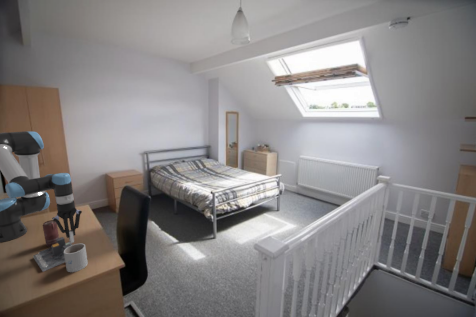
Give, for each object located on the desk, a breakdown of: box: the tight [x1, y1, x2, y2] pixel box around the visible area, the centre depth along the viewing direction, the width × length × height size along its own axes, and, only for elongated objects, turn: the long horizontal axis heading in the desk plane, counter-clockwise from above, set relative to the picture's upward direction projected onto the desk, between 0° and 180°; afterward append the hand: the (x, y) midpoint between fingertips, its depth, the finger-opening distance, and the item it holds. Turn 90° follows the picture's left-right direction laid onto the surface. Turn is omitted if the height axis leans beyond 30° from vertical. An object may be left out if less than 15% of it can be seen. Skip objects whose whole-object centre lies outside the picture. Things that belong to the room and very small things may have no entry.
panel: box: [32, 241, 73, 273], centre depth 117 cm, size 17×16×2 cm
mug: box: [64, 243, 89, 273], centre depth 110 cm, size 12×9×10 cm
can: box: [42, 219, 60, 248], centre depth 127 cm, size 6×6×14 cm
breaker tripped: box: [50, 243, 61, 256], centre depth 116 cm, size 3×3×5 cm
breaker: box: [56, 236, 66, 248], centre depth 122 cm, size 3×3×5 cm
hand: (71, 241), depth 121 cm, fingers closed
